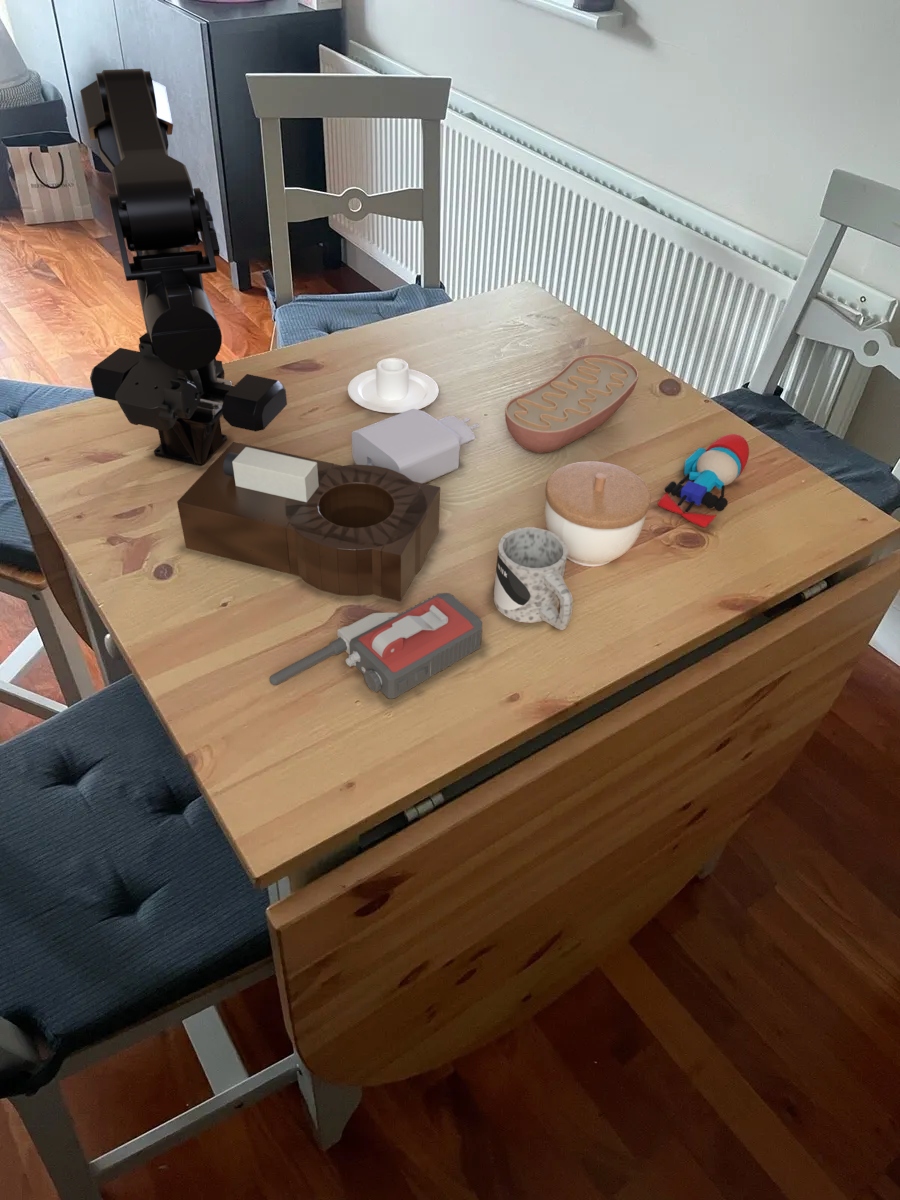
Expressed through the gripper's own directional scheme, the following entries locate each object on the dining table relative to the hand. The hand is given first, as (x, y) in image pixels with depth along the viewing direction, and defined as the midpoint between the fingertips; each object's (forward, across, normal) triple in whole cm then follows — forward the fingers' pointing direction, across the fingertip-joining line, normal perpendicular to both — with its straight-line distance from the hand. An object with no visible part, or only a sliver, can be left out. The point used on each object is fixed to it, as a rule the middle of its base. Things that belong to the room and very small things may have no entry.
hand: (200, 461), depth 96 cm
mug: (+7, +38, -2) cm, 38 cm away
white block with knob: (+1, +8, 0) cm, 8 cm away
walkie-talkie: (+7, +26, -14) cm, 31 cm away
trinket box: (+7, +40, +9) cm, 42 cm away
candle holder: (+7, +9, +32) cm, 34 cm away
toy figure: (+7, +51, +25) cm, 58 cm away
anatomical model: (+7, +33, +33) cm, 48 cm away
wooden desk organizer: (+7, +12, 0) cm, 14 cm away
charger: (+7, +18, +19) cm, 27 cm away
